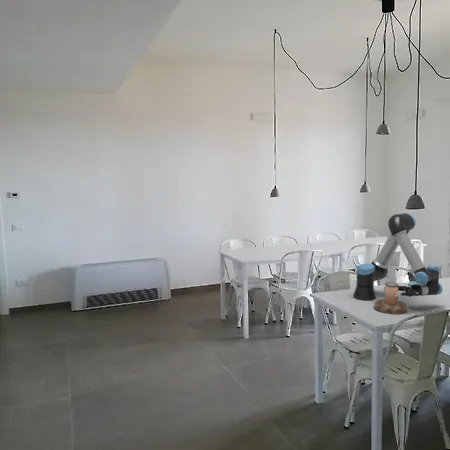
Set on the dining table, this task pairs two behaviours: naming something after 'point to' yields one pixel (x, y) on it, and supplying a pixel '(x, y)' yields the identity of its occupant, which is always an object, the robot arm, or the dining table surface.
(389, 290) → the terracotta jar
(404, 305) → the walnut pedestal
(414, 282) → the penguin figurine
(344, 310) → the dining table surface
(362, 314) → the dining table surface
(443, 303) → the dining table surface
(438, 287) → the robot arm
